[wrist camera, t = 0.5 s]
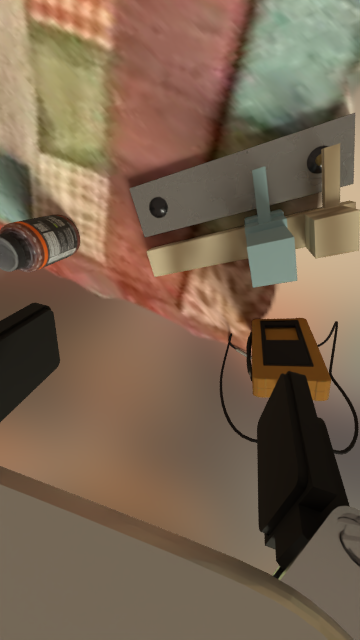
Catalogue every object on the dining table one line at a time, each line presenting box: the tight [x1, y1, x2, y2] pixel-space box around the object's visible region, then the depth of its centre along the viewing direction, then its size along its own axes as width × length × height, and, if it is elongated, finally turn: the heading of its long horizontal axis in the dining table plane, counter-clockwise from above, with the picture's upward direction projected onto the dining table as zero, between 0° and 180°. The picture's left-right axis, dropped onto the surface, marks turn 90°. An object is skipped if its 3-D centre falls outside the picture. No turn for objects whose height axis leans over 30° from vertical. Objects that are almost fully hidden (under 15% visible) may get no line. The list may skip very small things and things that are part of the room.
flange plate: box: [130, 113, 355, 237], centre depth 29 cm, size 24×6×1 cm, turn 107°
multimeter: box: [220, 318, 358, 454], centre depth 30 cm, size 15×10×20 cm
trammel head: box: [245, 167, 297, 288], centre depth 25 cm, size 4×10×12 cm, turn 17°
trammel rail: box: [147, 143, 360, 277], centre depth 28 cm, size 24×9×7 cm, turn 107°
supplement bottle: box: [0, 215, 80, 272], centre depth 33 cm, size 6×6×11 cm
